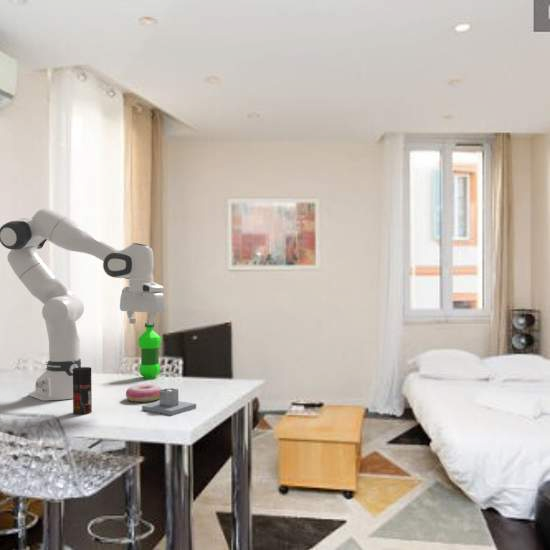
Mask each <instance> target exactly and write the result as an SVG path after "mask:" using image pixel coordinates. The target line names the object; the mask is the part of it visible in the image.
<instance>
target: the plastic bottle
mask: <svg viewBox="0 0 550 550" xmlns="http://www.w3.org/2000/svg"><path fill="white" fill-rule="evenodd" d="M144 327H145V331H144V332H142V334H141V335H140V336H138V340H137V342H138V346H139V348H140V351H141V352H140V354H141V355H140V356H141V357H140V359H141V360H140V361H141V362H140V366H139V367H138V371H139V373H140V375H141V376H142V377H143V378H144V379H146V380H147V379H150V378H152V379H156V378H157V377H158V376H159V375H160V374H161V365H160V363H159V348H160V347H161V345H162V338H161V336H160V335H159V334H158V333H157V332H155V331H154V328H155V322H153V325H147V322H146V323H144ZM155 377H156V378H155Z"/></svg>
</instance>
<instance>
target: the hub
mask: <svg viewBox="0 0 550 550" xmlns="http://www.w3.org/2000/svg"><path fill="white" fill-rule="evenodd" d="M161 389H162V390H159V401H160V406H161V407H174V406H177V405H178V401H179V389H178V388H173V387H172V388H161ZM166 390H172V391H169V392H166Z"/></svg>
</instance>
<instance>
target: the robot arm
mask: <svg viewBox="0 0 550 550" xmlns="http://www.w3.org/2000/svg"><path fill="white" fill-rule="evenodd" d="M48 241H49V242H50V243H52V244H53V245H55V246H57V247H59V248H61V249H64V250H66V251H70V252H76V253H83V254H88V255H90V256H93V257H95V258H96V259H99V260H101V261H102V262H103V263H102V268H103V270H104V273H105V274H106V275H107V276H109V277H112V278H113V279H114V278H115V279H116V278H117V279H124V280H125V279H126V280H129V281H128V282H129V283H128V284H129V286H124V288H122V290H121V294H120V299H119V309H120V311H121V312H126V314H127V318H128V321H129V324H132V325H134V324H136V319H137V318H134V314H135V313H138V312H139V313H148V316H149V318H148V319H146V323H147V325H153V323H154V320H155V317H156V316H157V314H161V313H163V312H164V310H165V297H164V294H163V292H164V290H165V288H164V286H163V285H161V284H159V283H157V282H155V280H154V279H155V278H154V273H153V272H154V268H155V265H154V264H155V260H154V251H153V250H154V249H153V248H152V247H151V246H150V245H147V244H143V243H137V242H133V243H131V244H130V245H128V246H127V247H125V248H123V249H120V250H118V249H115V248H114V247H112V246H110V245H109V244H106V243H105V242H103V241H101V240H99V239H98V238H97V237H95V236H93V234H91V233H90V232H89V231H87V230H85V228H83V227H82V226H80V225H79V224H78V223H76V222H75V221H74V220H72V219H70V218H69V217H67V216H66V215H63V214H61V213H59V212H58V211H54V210H51V209H50V208H42V209H41V208H40V210H38V211H36V213H35V214H34V215H33V216H32V217H26V218H20V219H16V220H12V221H8V222H6V223H5V224H3V225H2V226H1V227H0V244H1V246H3V247H4V248H6V249H8V250H10V251H9V252H8V254H7V261H8V264H9V265H10V267H11V269H12V271H13V272H14V274H15V275H16V277H17V278H18V279H19V280H20V282H21V283H22V284H23V285H24V287H25V288H26V290H28V292H29V293H30V294H31V295H32V296H33V297H35V298H36V299H37V300H39V302H41V304H43V307H42V310H41V315H42V318H43V320H44V322H45V327H46V332H47V337H48V356H49V357H48V358H49V359H48V361H45V362H44V363H45V364H44V365H46V368H45V369H46V370H45V371H44V372H43V373H42V374H41V375H40V376H39V377H38V378H37V379H36V381H35V385H34V386H35V388H34V391H31V392H29V393H28V396H29V397H32V398H35V399H37V400H40V401H42V402H45V401H61V400H64V401H65V400H70V399H71V400H73V369H74V368H79V367H82V359H81V358H80V355H81V353H80V349H81V348H80V337H79V335H78V334H79V333H78V330H77V325H76V322H77V321H79V319H80V318H81V317H82V316H83V313H84V311H85V310H84V309H85V307H84V303H83V302H82V300H81V299H80V298H79V297H77V296H76V295H75V294H74V293H73V291H71V289H70V288H68V287H67V285H65V284H64V283H63V282H62V281H61V280H60V279H59V278H58V277H57V275H55V273H54V272H53V270H51V268H50V267H49V266H48V264H46V262H45V261H44V260H43V259H42V258H41V256H40V255H39V253H38V250H39V249H42V248H43V247H44V245H45V243H46V242H48Z"/></svg>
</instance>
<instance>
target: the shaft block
mask: <svg viewBox="0 0 550 550" xmlns="http://www.w3.org/2000/svg"><path fill="white" fill-rule="evenodd" d="M169 391H172V390H166V392H169ZM194 409H197V403H193V402H187V401H182V400H181V401H180V400H178V405H177V406H174V407H161V406H160V400H159V401H155V402H153V403H148V404H144V405H141V410H142V411H144V410H146V411H145V412H149V411H151V412H150V413H155V412H157V413H156V414H160V413H162V414H161V415H166V414H167V416H175V415H177V414H181V412H182V413H185V412H188V411H191V410H194Z"/></svg>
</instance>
